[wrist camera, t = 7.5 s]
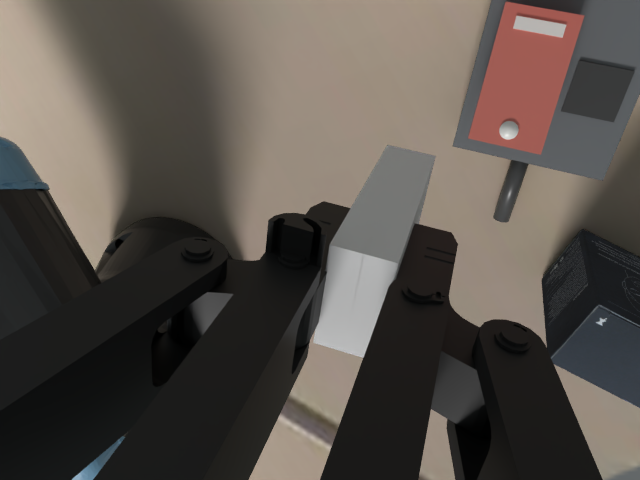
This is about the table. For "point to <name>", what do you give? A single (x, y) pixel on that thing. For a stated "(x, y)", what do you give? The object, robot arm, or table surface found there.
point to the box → (595, 314)
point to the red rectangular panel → (525, 76)
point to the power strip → (571, 94)
